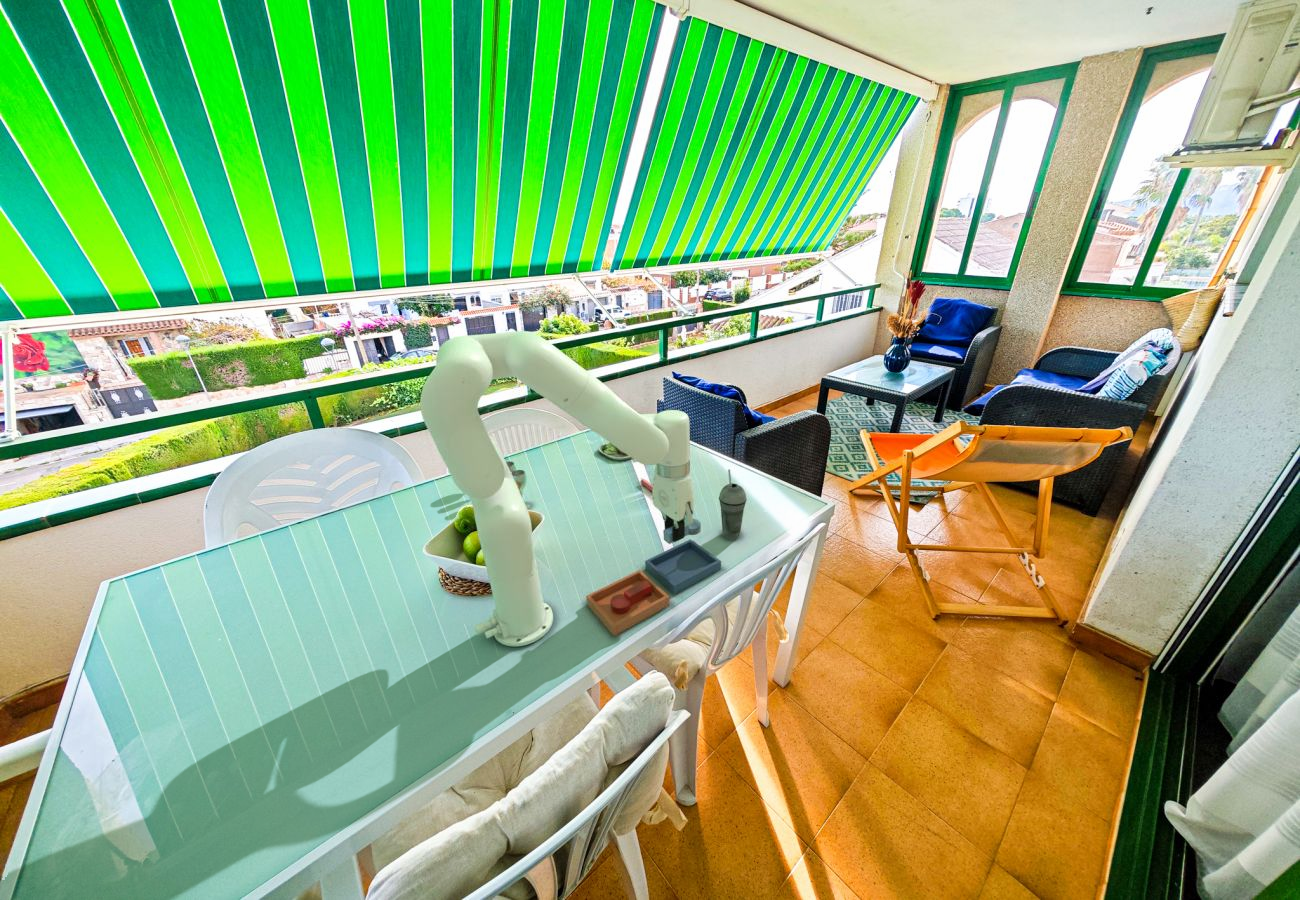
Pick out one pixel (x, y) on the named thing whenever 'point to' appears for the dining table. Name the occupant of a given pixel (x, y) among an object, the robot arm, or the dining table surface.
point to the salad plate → (612, 452)
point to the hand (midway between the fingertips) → (674, 536)
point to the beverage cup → (732, 509)
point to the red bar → (647, 484)
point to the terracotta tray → (637, 612)
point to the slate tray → (682, 566)
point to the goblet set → (518, 478)
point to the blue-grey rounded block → (689, 530)
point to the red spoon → (630, 598)
